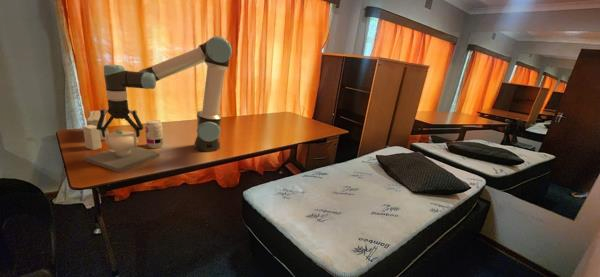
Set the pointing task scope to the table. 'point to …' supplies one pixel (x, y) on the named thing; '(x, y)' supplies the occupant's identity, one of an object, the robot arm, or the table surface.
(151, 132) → the supplement can
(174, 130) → the table surface
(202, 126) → the robot arm
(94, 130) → the skincare box
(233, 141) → the table surface
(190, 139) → the table surface
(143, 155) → the base
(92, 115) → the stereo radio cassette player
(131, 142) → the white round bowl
